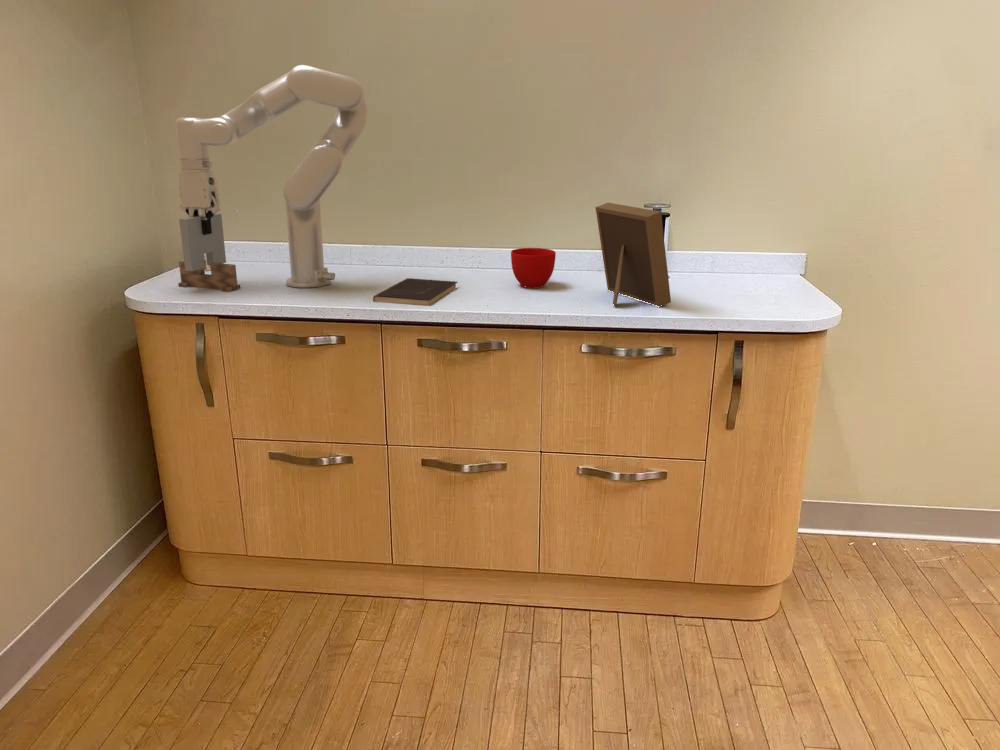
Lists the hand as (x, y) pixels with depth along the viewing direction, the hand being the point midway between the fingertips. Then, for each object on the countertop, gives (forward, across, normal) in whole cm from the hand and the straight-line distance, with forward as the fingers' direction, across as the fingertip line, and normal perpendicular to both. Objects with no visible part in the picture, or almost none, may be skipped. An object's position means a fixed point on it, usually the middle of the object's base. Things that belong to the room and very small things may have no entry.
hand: (202, 233), depth 212 cm
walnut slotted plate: (+15, 0, 0) cm, 15 cm away
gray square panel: (+9, 0, 0) cm, 9 cm away
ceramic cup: (+15, -84, -40) cm, 94 cm away
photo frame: (+15, -113, -30) cm, 118 cm away
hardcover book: (+16, -58, -15) cm, 62 cm away
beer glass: (+16, +19, -21) cm, 32 cm away
